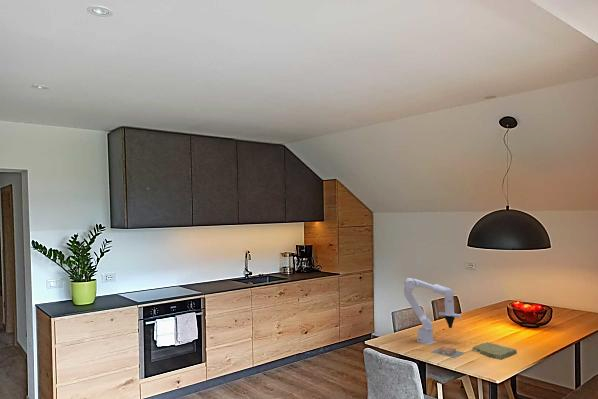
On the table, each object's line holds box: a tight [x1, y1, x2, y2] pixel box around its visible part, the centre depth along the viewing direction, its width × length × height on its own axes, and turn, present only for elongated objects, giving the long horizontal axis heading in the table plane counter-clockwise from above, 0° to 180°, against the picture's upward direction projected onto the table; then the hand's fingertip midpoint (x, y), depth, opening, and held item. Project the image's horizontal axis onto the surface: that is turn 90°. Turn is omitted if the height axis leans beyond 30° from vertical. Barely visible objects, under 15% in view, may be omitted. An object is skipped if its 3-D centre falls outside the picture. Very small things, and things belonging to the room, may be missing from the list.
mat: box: [430, 346, 465, 359], centre depth 275 cm, size 16×13×1 cm
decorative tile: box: [471, 341, 518, 361], centre depth 274 cm, size 19×20×4 cm
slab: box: [437, 345, 457, 356], centre depth 275 cm, size 2×7×8 cm
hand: (450, 327), depth 295 cm, fingers closed
